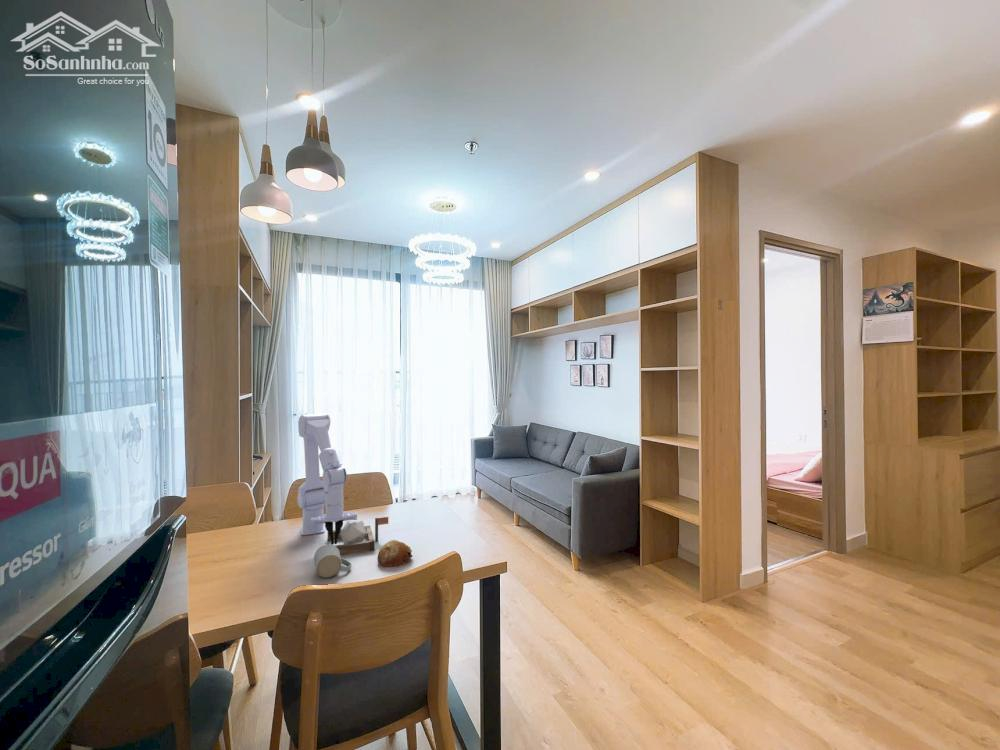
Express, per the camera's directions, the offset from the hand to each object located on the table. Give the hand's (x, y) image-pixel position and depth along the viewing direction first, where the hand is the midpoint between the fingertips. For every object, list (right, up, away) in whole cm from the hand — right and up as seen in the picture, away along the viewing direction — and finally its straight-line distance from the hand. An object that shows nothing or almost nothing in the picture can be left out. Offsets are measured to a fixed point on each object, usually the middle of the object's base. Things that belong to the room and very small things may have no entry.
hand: (334, 543), depth 142 cm
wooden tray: (+7, -1, +3) cm, 8 cm away
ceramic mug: (+7, -2, -18) cm, 19 cm away
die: (+6, -2, +2) cm, 6 cm away
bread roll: (+23, -2, -10) cm, 25 cm away
